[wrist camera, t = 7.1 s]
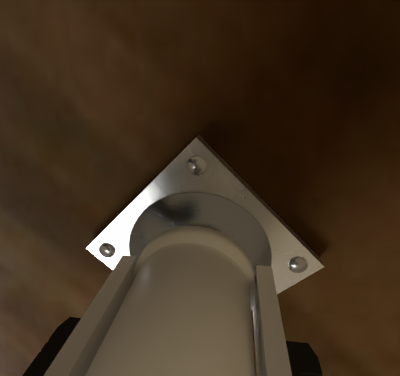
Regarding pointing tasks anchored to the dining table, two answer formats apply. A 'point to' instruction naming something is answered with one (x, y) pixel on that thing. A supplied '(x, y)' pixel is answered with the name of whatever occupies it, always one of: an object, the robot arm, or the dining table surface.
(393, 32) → the dining table surface
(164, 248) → the elbow
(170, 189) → the flange plate
